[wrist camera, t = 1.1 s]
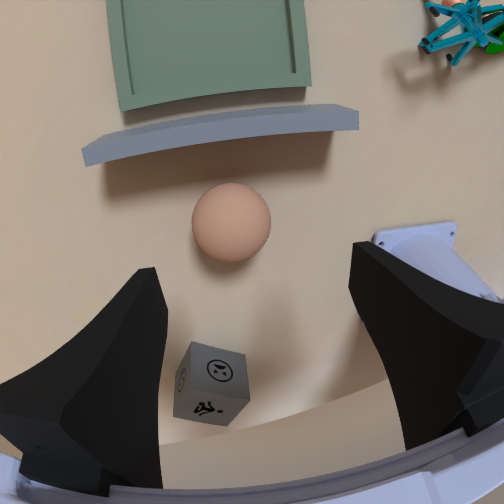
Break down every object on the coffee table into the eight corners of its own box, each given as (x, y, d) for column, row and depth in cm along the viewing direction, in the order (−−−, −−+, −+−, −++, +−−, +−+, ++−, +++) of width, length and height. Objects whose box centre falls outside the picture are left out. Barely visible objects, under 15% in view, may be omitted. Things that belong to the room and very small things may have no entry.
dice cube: (191, 340, 26) (189, 388, 22) (244, 354, 27) (250, 400, 23) (175, 372, 28) (172, 416, 24) (224, 383, 30) (226, 426, 25)
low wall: (335, 119, 18) (358, 130, 15) (106, 150, 17) (85, 167, 14) (335, 104, 17) (358, 111, 14) (103, 135, 17) (81, 148, 14)
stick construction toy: (413, 73, 14) (495, -4, 7) (353, -4, 15) (404, -84, 7) (495, 76, 17) (553, 34, 9) (450, 14, 17) (496, -33, 10)
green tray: (306, 85, 16) (311, 86, 15) (125, 110, 16) (120, 111, 15) (289, -66, 11) (292, -72, 10) (109, -42, 10) (104, -47, 10)
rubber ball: (267, 233, 21) (279, 271, 17) (200, 242, 21) (197, 282, 17) (262, 168, 19) (274, 195, 15) (188, 178, 19) (181, 207, 15)
